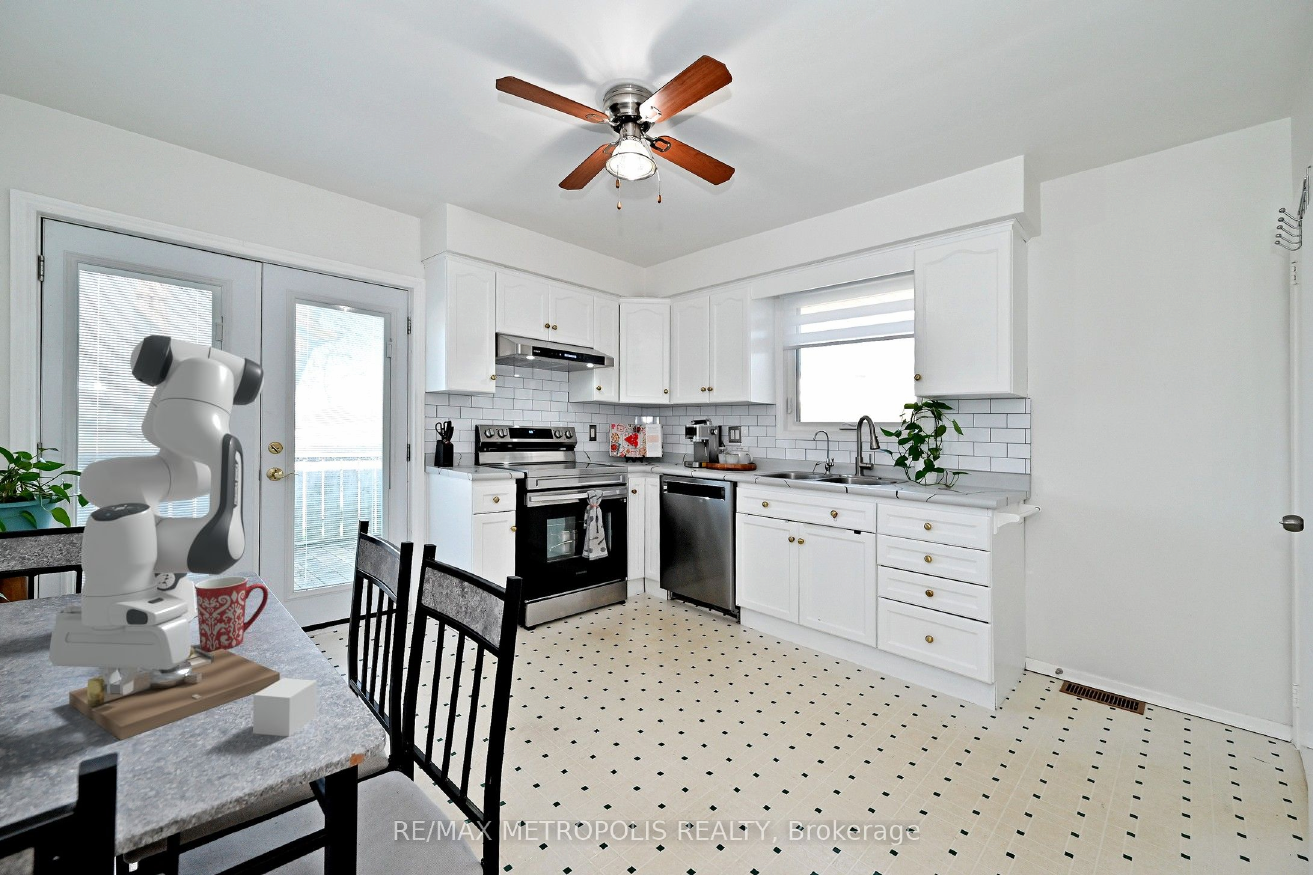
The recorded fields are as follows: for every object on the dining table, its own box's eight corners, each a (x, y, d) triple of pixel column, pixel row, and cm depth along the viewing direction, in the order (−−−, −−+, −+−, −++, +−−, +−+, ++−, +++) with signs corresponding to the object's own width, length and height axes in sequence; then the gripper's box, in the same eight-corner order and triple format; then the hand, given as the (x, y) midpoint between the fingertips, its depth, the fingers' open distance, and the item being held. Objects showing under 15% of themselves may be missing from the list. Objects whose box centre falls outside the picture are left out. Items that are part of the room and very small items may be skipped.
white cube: (282, 714, 93) (283, 677, 93) (316, 717, 92) (317, 680, 92) (252, 733, 87) (253, 694, 87) (289, 736, 86) (289, 697, 86)
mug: (195, 657, 114) (195, 590, 114) (192, 643, 121) (193, 580, 121) (270, 642, 123) (271, 579, 122) (264, 630, 129) (265, 571, 129)
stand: (64, 703, 95) (64, 676, 95) (220, 657, 114) (220, 635, 114) (118, 741, 84) (118, 711, 84) (279, 683, 103) (279, 659, 103)
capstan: (178, 668, 103) (178, 640, 103) (203, 680, 99) (203, 651, 99) (76, 697, 92) (76, 667, 92) (99, 713, 87) (99, 680, 87)
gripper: (35, 611, 88) (35, 700, 88) (164, 615, 87) (163, 704, 88) (78, 599, 94) (78, 682, 95) (198, 602, 94) (198, 685, 94)
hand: (120, 692), depth 91 cm, fingers closed
